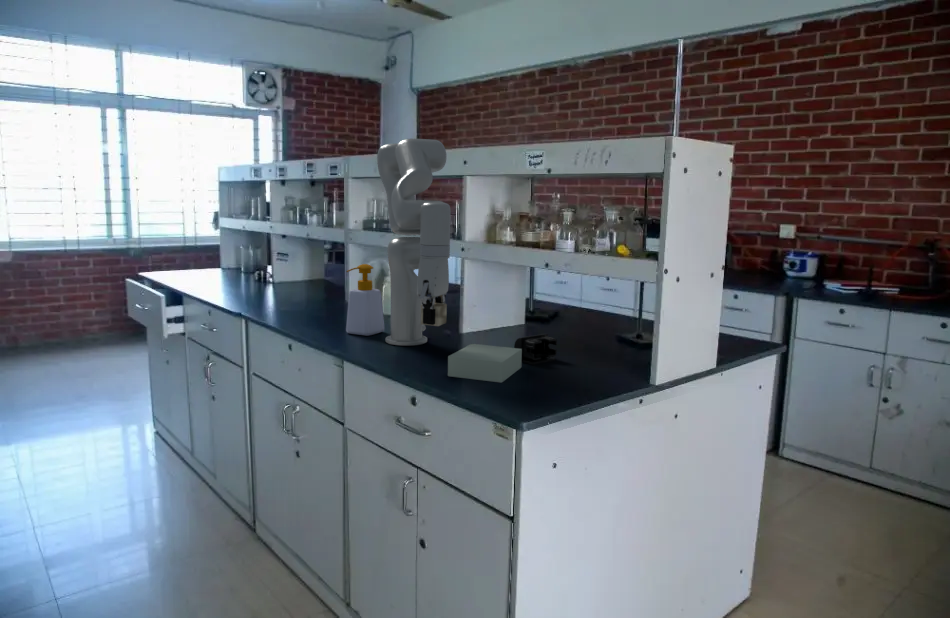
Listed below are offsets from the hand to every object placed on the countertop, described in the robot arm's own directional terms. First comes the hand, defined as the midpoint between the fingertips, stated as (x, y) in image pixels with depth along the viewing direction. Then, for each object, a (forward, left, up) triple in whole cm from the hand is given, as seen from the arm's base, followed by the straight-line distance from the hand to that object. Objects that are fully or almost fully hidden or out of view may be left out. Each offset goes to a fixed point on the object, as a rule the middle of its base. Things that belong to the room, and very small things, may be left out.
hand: (433, 321), depth 173 cm
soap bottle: (-28, -38, -12) cm, 48 cm away
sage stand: (-1, +14, -12) cm, 19 cm away
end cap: (-19, +22, -12) cm, 32 cm away
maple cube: (0, 0, -1) cm, 1 cm away
